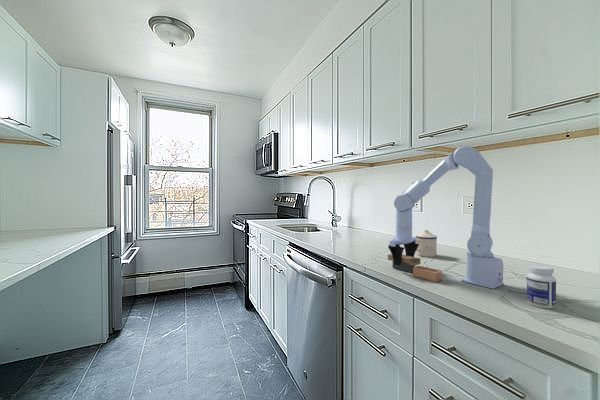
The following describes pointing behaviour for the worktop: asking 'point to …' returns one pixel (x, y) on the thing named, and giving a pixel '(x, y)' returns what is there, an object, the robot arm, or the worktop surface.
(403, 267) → the rubber mat block
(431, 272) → the tan rectangular block
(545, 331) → the worktop surface
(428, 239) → the teacup with lid
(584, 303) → the worktop surface
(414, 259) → the walnut sheet
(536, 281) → the pill bottle
